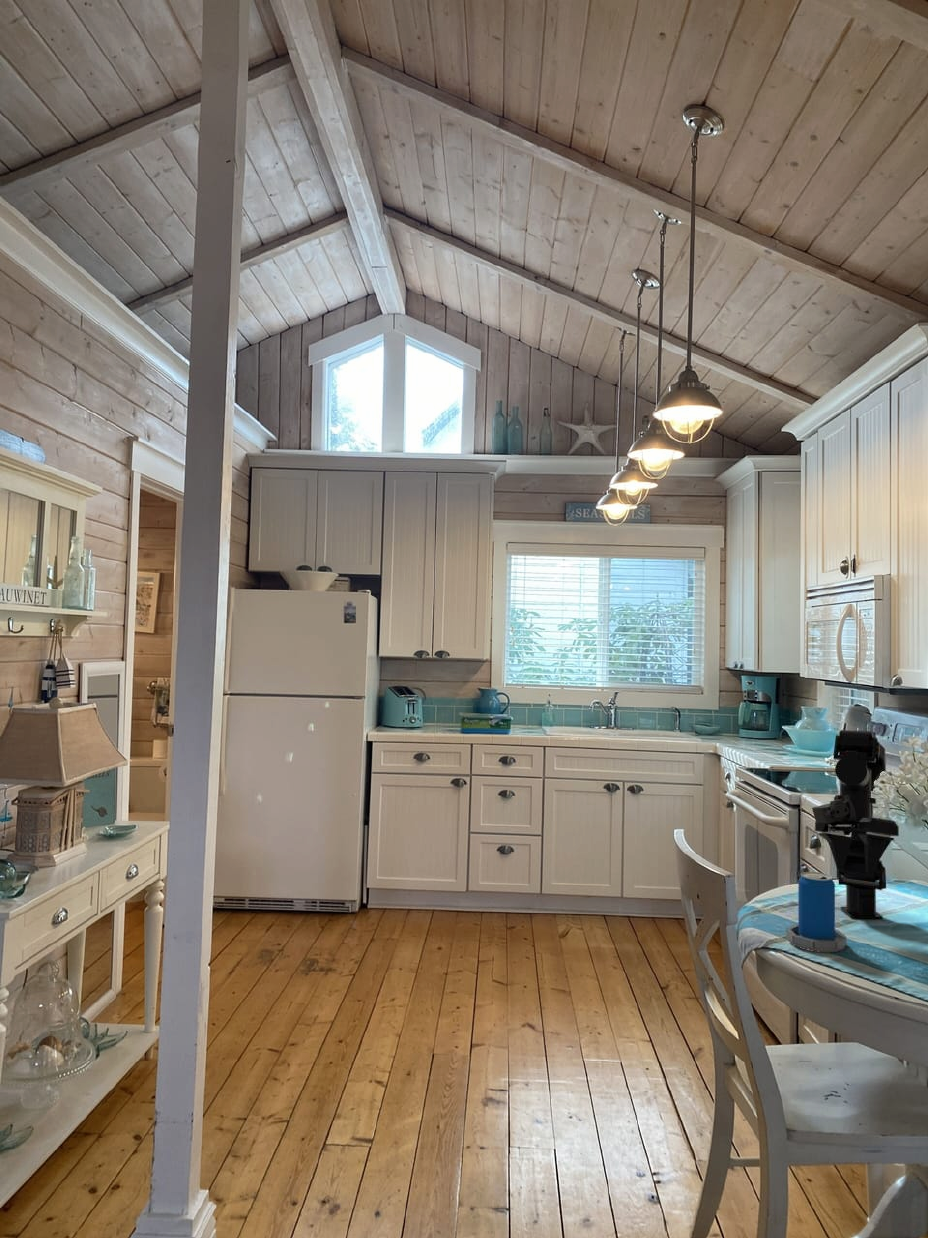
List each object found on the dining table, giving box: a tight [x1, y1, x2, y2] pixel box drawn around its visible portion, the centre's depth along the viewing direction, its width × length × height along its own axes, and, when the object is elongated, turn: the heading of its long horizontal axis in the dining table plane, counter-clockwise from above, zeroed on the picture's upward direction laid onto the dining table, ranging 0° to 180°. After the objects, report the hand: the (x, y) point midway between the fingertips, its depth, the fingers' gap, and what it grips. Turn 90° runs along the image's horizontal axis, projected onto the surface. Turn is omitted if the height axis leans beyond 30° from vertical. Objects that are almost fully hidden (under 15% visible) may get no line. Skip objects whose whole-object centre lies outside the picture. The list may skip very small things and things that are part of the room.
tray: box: [785, 923, 847, 953], centre depth 161 cm, size 10×10×2 cm
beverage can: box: [797, 871, 836, 941], centre depth 161 cm, size 6×6×12 cm
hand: (854, 871), depth 166 cm, fingers open, 9 cm apart
